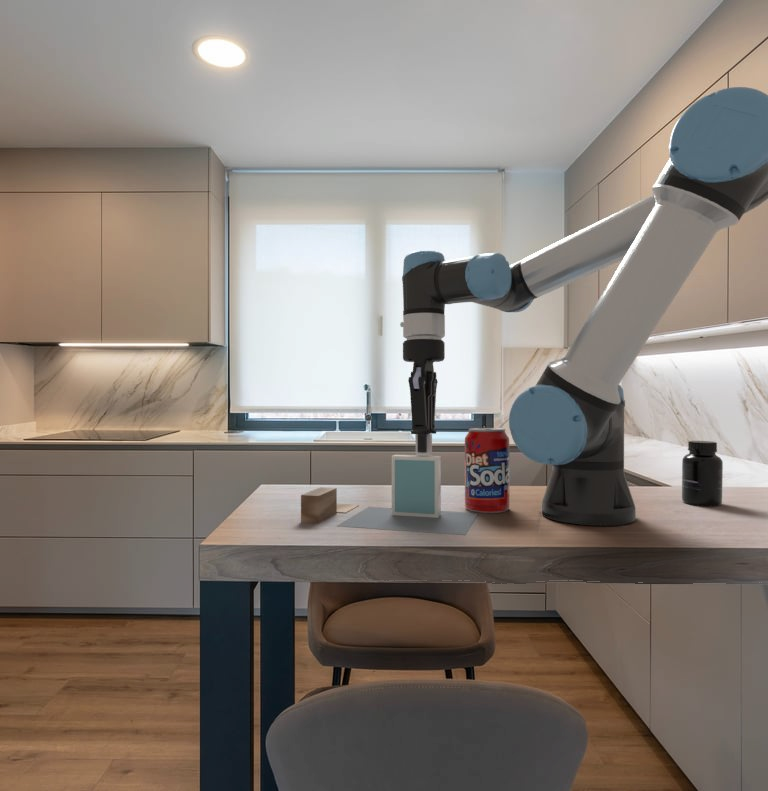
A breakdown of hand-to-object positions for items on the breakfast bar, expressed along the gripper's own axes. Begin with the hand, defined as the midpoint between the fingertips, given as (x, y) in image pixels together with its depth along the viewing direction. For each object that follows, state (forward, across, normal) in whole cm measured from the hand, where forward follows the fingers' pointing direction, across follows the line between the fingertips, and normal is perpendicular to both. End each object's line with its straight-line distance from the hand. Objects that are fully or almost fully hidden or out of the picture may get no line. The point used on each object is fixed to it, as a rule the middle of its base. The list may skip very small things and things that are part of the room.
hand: (423, 470), depth 101 cm
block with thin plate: (+8, +9, -15) cm, 19 cm away
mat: (+7, +10, 0) cm, 12 cm away
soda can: (+8, -2, +11) cm, 14 cm away
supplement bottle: (+8, -23, +50) cm, 55 cm away
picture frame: (+7, +6, 0) cm, 9 cm away
